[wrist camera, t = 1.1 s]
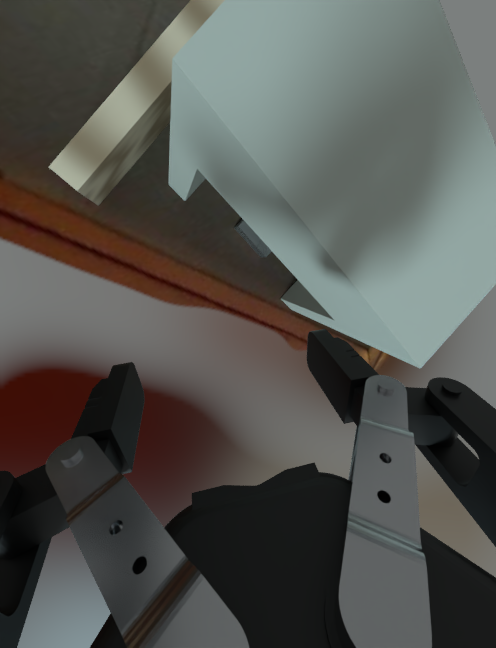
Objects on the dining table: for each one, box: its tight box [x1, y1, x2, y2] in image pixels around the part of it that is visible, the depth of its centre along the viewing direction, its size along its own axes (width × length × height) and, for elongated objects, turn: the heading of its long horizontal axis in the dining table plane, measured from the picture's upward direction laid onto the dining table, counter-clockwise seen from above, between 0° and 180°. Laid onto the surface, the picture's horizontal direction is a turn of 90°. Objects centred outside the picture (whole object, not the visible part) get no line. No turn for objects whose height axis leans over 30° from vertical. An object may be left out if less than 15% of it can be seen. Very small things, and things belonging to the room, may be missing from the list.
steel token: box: [234, 219, 271, 257], centre depth 33 cm, size 5×5×2 cm
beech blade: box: [49, 0, 225, 206], centre depth 25 cm, size 22×2×8 cm, turn 137°
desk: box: [169, 0, 496, 368], centre depth 24 cm, size 13×22×21 cm, turn 45°
